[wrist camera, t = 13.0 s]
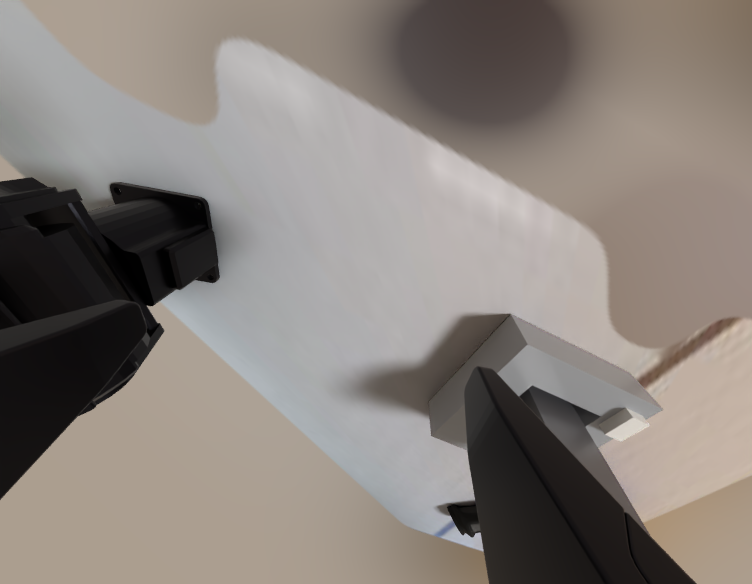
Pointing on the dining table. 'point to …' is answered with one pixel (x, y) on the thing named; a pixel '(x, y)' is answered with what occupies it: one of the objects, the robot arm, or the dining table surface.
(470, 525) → the electric trimmer
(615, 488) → the plug
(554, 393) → the socket
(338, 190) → the dining table surface
